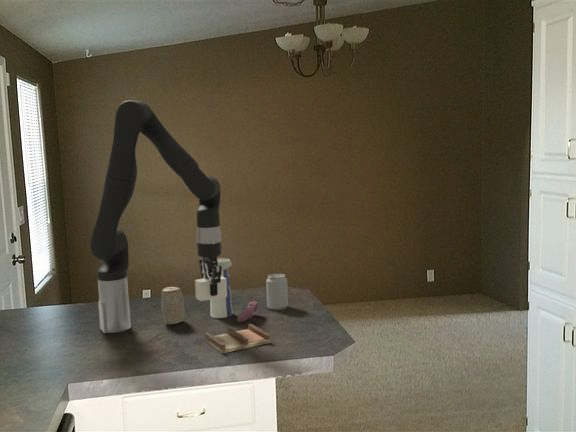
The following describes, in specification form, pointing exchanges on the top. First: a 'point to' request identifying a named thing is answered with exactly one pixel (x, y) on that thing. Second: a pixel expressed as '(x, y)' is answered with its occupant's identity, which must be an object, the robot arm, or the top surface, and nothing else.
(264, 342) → the slot rack
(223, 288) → the plug block
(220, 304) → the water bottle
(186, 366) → the top surface
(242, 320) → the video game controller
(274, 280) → the can
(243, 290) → the top surface
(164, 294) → the carving
